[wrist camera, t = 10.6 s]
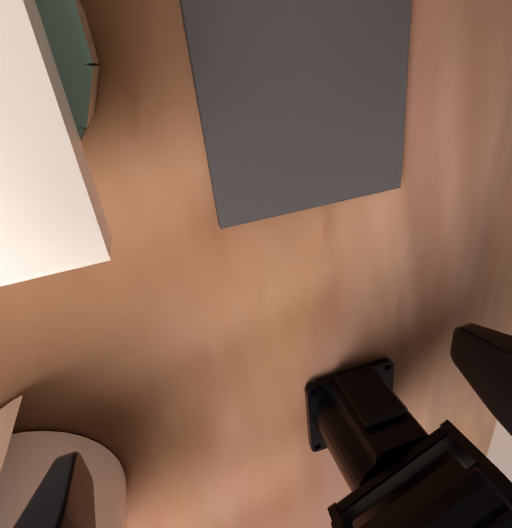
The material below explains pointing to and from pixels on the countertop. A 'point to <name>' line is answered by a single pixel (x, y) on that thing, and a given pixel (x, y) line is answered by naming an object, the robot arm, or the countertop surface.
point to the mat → (298, 100)
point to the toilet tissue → (39, 461)
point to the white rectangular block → (41, 161)
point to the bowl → (72, 56)
